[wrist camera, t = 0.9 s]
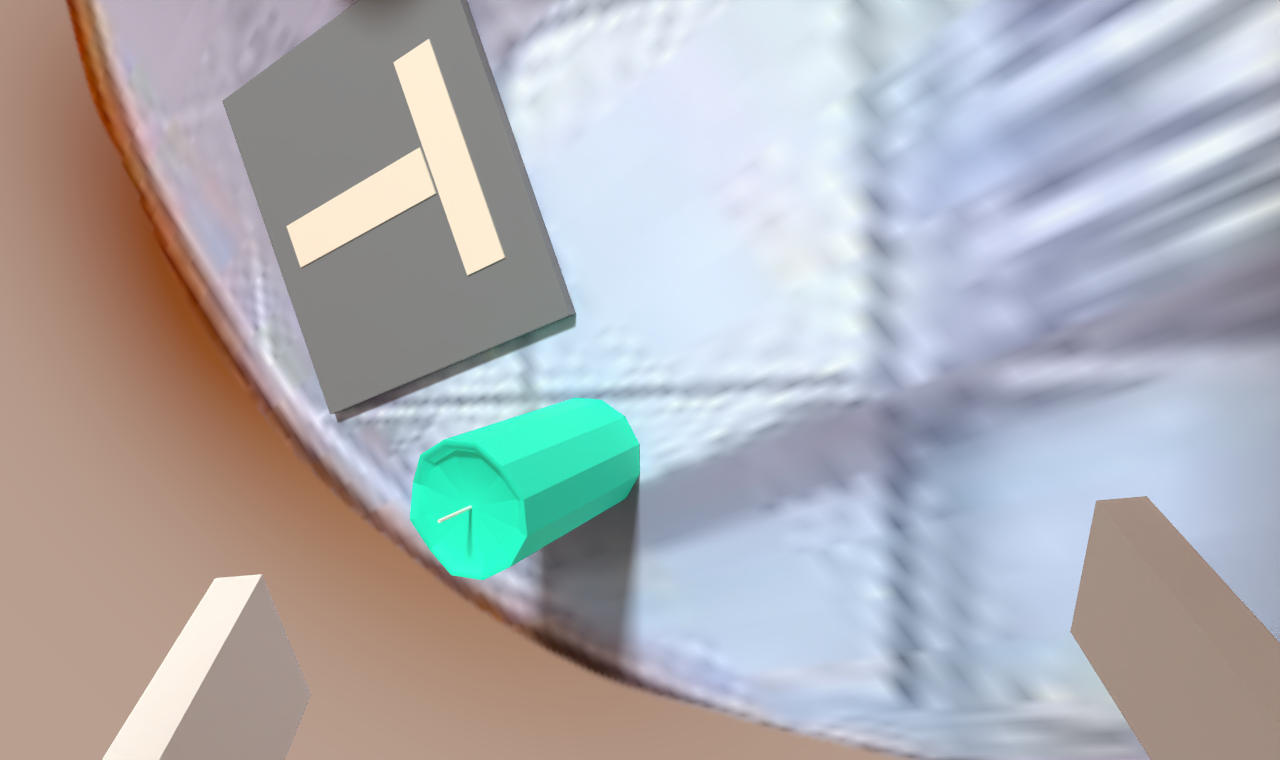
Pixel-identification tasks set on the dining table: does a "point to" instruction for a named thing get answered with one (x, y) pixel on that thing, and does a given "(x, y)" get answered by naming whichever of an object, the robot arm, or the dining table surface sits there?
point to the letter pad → (395, 197)
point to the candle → (521, 484)
